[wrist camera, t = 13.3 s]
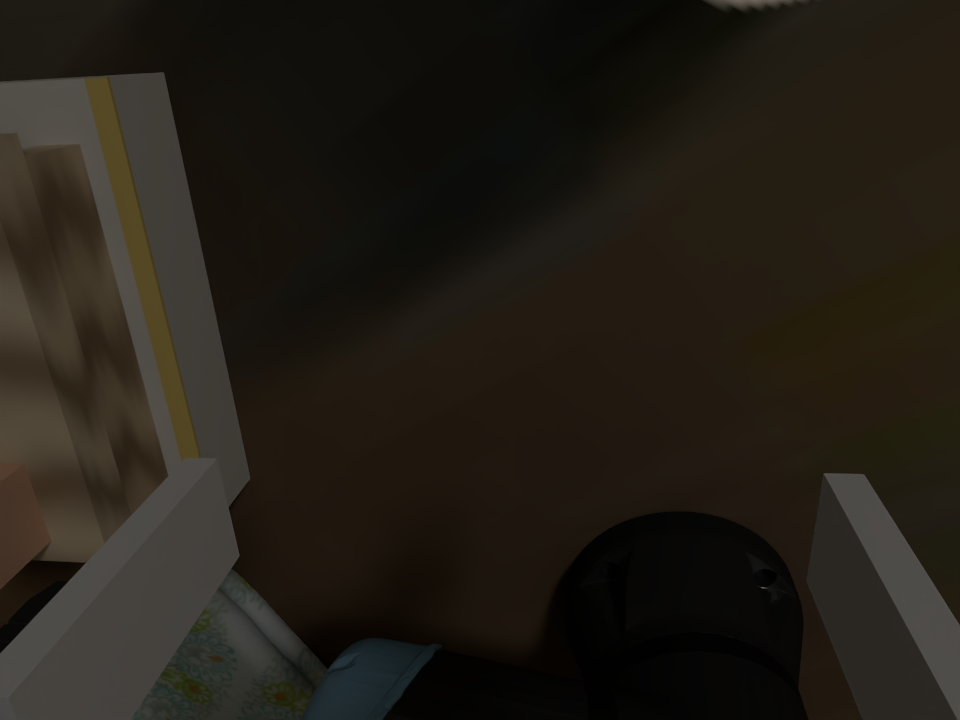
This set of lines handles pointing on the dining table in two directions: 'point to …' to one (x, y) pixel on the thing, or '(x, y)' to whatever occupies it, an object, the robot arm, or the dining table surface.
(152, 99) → the dock
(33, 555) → the block
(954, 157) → the dining table surface
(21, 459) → the board
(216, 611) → the towel
